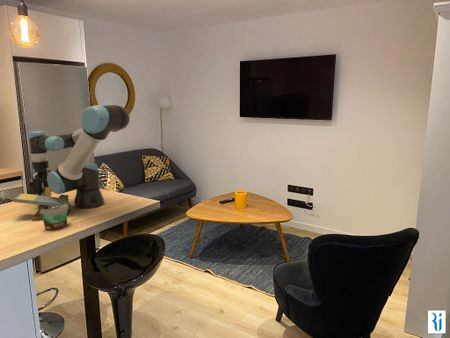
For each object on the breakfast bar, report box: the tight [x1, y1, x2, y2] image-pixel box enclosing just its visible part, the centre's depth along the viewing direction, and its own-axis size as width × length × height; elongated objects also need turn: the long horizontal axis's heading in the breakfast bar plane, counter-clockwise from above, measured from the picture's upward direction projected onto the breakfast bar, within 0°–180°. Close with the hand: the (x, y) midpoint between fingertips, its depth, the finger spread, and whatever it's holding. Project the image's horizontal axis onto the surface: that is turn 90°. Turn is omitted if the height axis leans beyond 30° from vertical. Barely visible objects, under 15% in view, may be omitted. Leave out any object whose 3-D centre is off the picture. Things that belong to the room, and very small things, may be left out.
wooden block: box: [36, 185, 52, 208], centre depth 179 cm, size 5×5×11 cm
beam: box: [13, 193, 70, 207], centre depth 164 cm, size 22×10×4 cm, turn 107°
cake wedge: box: [40, 202, 69, 231], centre depth 149 cm, size 12×6×10 cm, turn 148°
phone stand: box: [27, 181, 36, 195], centre depth 188 cm, size 9×6×12 cm, turn 88°
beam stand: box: [31, 202, 71, 222], centre depth 166 cm, size 15×13×6 cm
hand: (44, 203), depth 179 cm, fingers closed on wooden block, 5 cm apart
